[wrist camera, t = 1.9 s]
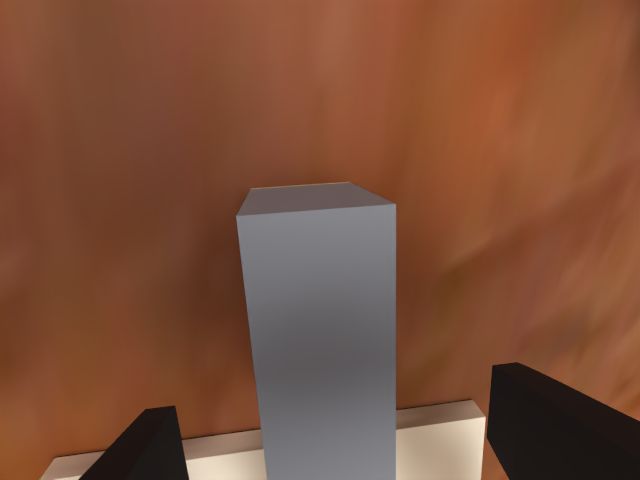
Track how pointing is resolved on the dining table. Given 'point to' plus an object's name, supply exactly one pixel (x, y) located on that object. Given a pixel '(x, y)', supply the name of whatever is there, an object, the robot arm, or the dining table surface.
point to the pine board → (411, 449)
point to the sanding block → (322, 328)
